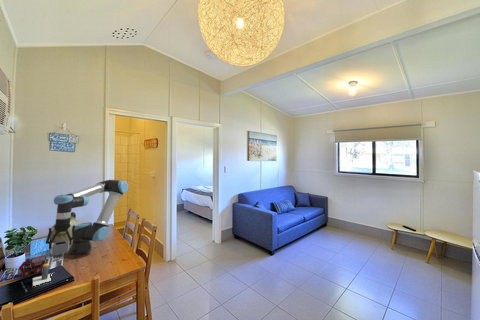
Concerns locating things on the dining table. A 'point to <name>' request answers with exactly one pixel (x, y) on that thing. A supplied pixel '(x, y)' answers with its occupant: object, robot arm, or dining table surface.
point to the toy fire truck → (35, 264)
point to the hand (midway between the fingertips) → (59, 251)
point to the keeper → (43, 276)
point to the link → (60, 247)
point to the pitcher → (62, 235)
